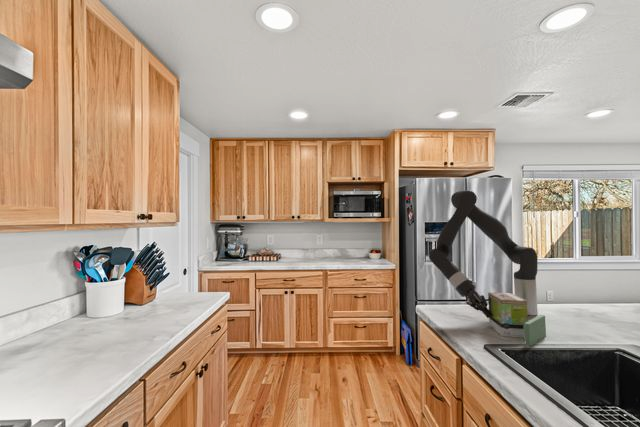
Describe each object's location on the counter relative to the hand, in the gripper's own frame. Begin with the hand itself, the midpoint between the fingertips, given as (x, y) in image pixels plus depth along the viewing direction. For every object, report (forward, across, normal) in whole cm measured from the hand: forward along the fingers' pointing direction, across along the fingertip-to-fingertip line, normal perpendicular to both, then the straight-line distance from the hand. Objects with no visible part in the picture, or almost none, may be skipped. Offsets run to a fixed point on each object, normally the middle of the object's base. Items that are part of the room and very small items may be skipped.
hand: (490, 316), depth 131 cm
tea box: (+8, +3, 0) cm, 8 cm away
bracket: (+15, 0, -8) cm, 17 cm away
